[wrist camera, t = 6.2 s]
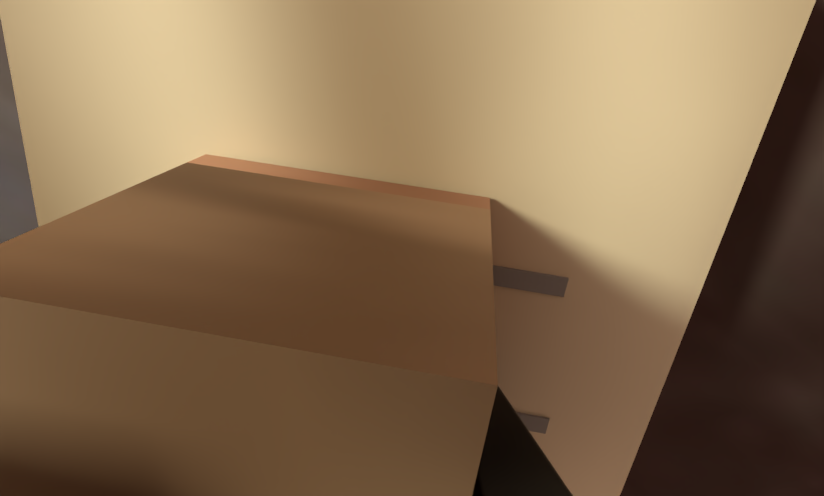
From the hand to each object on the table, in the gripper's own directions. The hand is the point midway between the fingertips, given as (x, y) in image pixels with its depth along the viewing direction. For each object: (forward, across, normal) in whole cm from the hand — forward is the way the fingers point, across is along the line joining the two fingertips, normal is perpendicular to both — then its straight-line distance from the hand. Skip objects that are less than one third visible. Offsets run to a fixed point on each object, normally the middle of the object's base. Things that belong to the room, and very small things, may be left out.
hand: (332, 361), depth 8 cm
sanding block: (0, 0, 0) cm, 0 cm away
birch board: (+2, 0, +2) cm, 3 cm away
